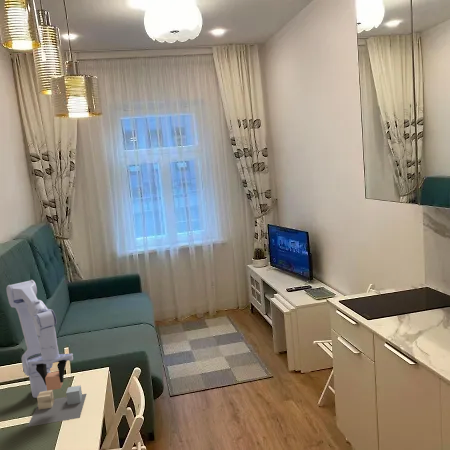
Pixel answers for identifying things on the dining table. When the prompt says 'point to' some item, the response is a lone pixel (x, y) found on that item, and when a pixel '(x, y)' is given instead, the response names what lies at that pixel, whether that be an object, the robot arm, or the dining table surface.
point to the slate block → (74, 395)
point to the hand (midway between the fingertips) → (54, 382)
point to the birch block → (45, 399)
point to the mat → (57, 412)
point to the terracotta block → (53, 381)
